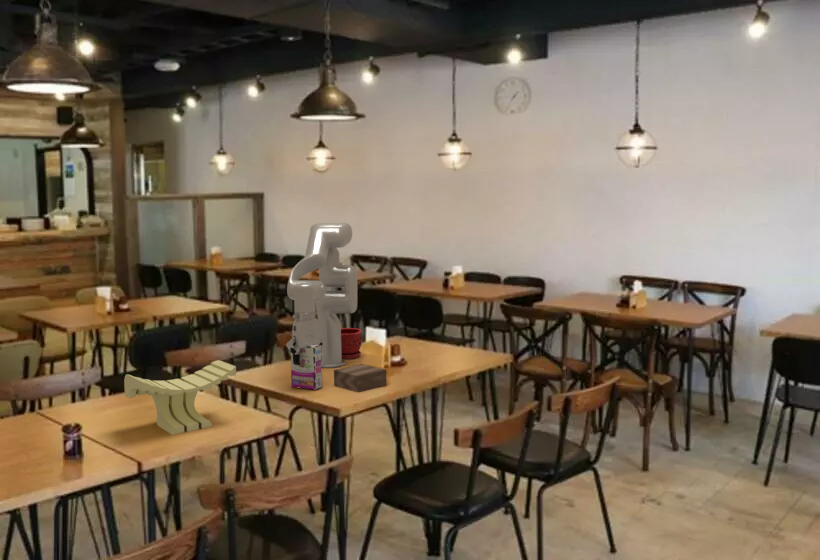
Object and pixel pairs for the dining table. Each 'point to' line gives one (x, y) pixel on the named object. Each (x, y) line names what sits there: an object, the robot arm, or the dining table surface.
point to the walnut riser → (360, 377)
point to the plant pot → (350, 342)
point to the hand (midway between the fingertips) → (306, 362)
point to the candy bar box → (307, 368)
